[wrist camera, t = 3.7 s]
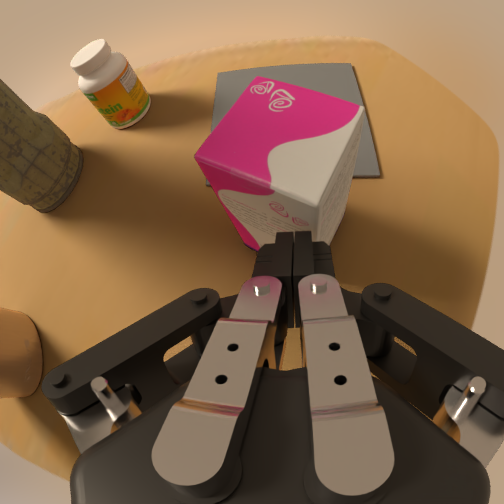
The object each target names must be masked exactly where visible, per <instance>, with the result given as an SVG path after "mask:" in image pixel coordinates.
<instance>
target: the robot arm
mask: <svg viewBox="0 0 504 504" xmlns="http://www.w3.org/2000/svg"><path fill="white" fill-rule="evenodd" d="M294 314H295V324H296V328H300V345H301V359H302V368H298V369H293V370H288V371H282V370H281V369H282V363H283V358H284V353H285V348H286V336H287V330H288V328H294ZM189 336H191V339H192V342H193V344H192V345H190V346H189V347H187V348H186V349H184V350H183V351H181V352H180V353H178V354H176V355H175V356H173V357H172V358H170V359H169V360H167V361H165V362H164V361H163V357H164V354H165V353H166V351H167V350H168V349H170V348H171V347H173V346H174V345H176V344H178V343H179V342H181V341H182V340H184V339H186V338H187V337H189ZM395 336H396V337H397V338H399V339H400V340H402V341H403V342H405V343H406V344H408V345H409V346H411V347H412V348H413V349H414V351H415V352H416V355H417V356H415V355H414V354H413V353H411V352H410V351H408V350H407V349H405V348H404V347H402V346H401V345H399V344H398V343H396V342H395V341H394V337H395ZM42 364H43V360H42V349H41V343H40V339H39V336H38V333H37V330H36V328H35V326H34V324H33V322H32V321H31V319H30V318H29V317H28V316H27V315H25V314H24V313H22V312H18V311H13V310H9V309H4V308H0V398H14V397H26V396H30V395H31V394H32V393H34V392H35V390H36V389H37V387H38V385H39V382H40V379H41V374H42ZM370 372H371V373H372V374H374V375H375V376H376V377H378V378H379V379H380V380H379V379H377V378H375V377H373V376H371V373H370ZM42 392H43V394H44V395H45V396H46V397H47V399H48V400H49V401H50V402H51V403H52V405H53V406H54V407H55V408H56V410H57V412H58V413H59V414H60V415H61V416H62V418H63V419H64V420H65V421H66V423H67V425H68V428H69V430H70V432H71V434H72V437H73V439H74V441H75V443H76V445H77V447H78V449H79V451H80V453H81V455H80V456H79V458H78V459H77V461H76V462H75V464H74V466H73V469H72V472H71V476H70V491H71V504H488V503H489V498H490V481H489V477H488V473H487V471H486V469H485V468H486V467H487V465H488V463H489V462H490V461H491V459H492V458H493V456H494V455H495V453H496V452H497V450H498V449H499V447H500V445H501V444H502V442H503V440H504V350H503V349H501V348H499V347H498V346H496V345H494V344H493V343H491V342H490V341H488V340H486V339H485V338H483V337H481V336H480V335H478V334H476V333H475V332H473V331H471V330H470V329H468V328H466V327H465V326H463V325H461V324H459V323H458V322H456V321H454V320H453V319H451V318H449V317H447V316H446V315H444V314H442V313H441V312H439V311H437V310H435V309H434V308H432V307H430V306H428V305H427V304H425V303H423V302H421V301H420V300H418V299H416V298H414V297H412V296H411V295H409V294H407V293H405V292H404V291H402V290H400V289H398V288H396V287H394V286H392V285H389V284H385V283H375V284H371V285H369V286H367V287H365V288H364V289H363V291H362V294H360V293H354V292H350V291H347V290H345V289H343V288H341V287H340V286H339V283H338V281H337V280H336V279H335V273H334V267H333V261H332V255H331V250H330V246H329V245H328V244H327V243H325V242H324V241H316V242H312V233H311V231H295V236H294V232H293V231H291V232H277V233H276V239H275V243H270V244H264V245H263V246H262V247H261V248H260V249H259V250H258V254H257V258H256V263H255V266H254V270H253V274H252V278H251V279H249V280H247V281H246V282H245V283H244V284H243V285H242V288H241V290H240V292H239V294H236V295H233V296H229V297H225V298H220V297H219V294H218V292H217V291H215V290H213V289H210V288H200V289H195V290H192V291H190V292H188V293H186V294H185V295H183V296H181V297H179V298H178V299H176V300H174V301H172V302H170V303H169V304H167V305H165V306H163V307H162V308H160V309H158V310H156V311H155V312H153V313H151V314H149V315H148V316H146V317H144V318H142V319H141V320H139V321H137V322H135V323H134V324H132V325H130V326H128V327H127V328H125V329H123V330H121V331H119V332H118V333H116V334H114V335H112V336H111V337H109V338H107V339H105V340H104V341H102V342H100V343H98V344H97V345H95V346H93V347H91V348H89V349H88V350H86V351H84V352H82V353H81V354H79V355H77V356H75V357H74V358H72V359H70V360H68V361H67V362H65V363H63V364H61V365H59V366H58V367H56V368H54V369H53V370H51V371H50V372H49V373H48V374H47V375H46V376H45V378H44V380H43V382H42ZM404 398H405V399H404ZM409 402H410V403H411V404H410V403H409ZM413 405H414V406H415V407H416V408H417V409H416V408H415V407H414V406H413ZM418 409H419V410H420V411H421V412H423V413H424V414H425V415H427V416H428V417H429V418H431V419H432V420H433V422H432V421H431V420H430V419H429V418H427V417H426V416H425V415H424V414H422V413H421V412H420V411H419V410H418Z"/></svg>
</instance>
